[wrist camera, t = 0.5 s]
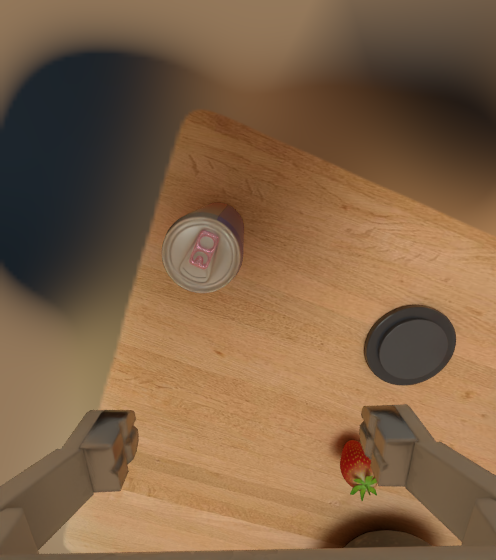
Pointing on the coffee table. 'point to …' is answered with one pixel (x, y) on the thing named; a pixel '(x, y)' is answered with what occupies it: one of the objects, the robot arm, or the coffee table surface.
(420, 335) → the saucer
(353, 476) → the fruit
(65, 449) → the robot arm
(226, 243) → the beverage can
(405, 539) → the bowl
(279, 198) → the coffee table surface
